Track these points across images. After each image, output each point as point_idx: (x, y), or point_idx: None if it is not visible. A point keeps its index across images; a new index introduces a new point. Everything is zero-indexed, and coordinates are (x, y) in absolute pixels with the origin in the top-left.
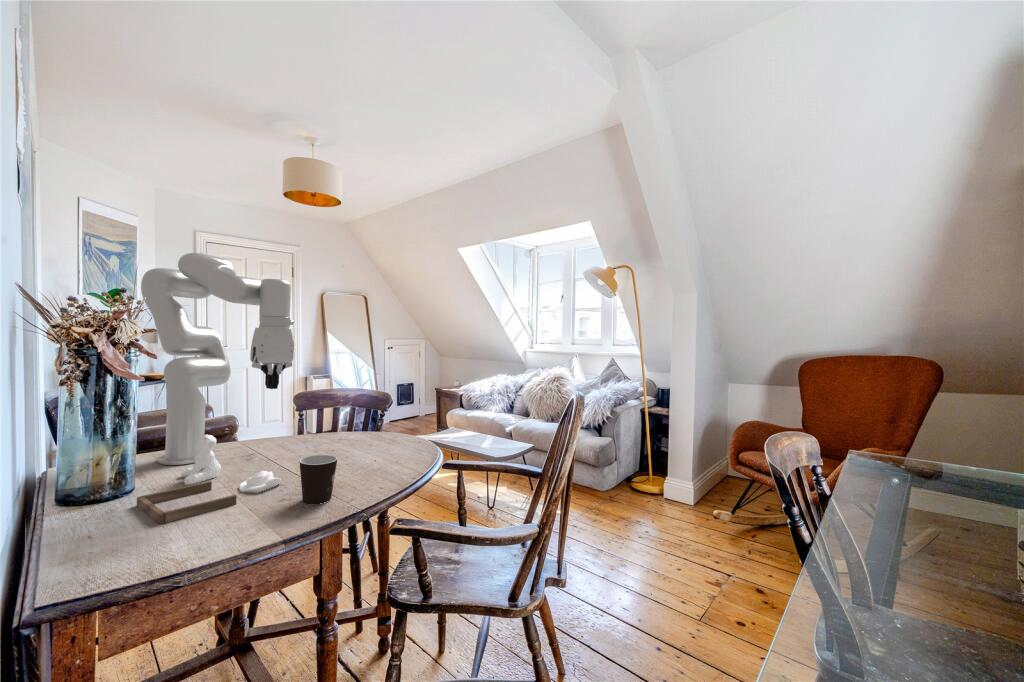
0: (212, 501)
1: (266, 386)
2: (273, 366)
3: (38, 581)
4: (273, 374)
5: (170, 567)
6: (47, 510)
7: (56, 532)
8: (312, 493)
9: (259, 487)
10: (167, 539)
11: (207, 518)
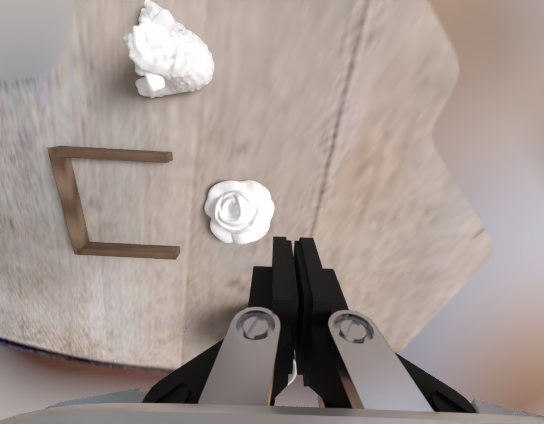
0: (141, 256)
1: (273, 242)
2: (353, 397)
3: None
4: (307, 348)
5: (84, 347)
6: None
7: None
8: None
9: (221, 240)
10: (87, 293)
11: (136, 270)
